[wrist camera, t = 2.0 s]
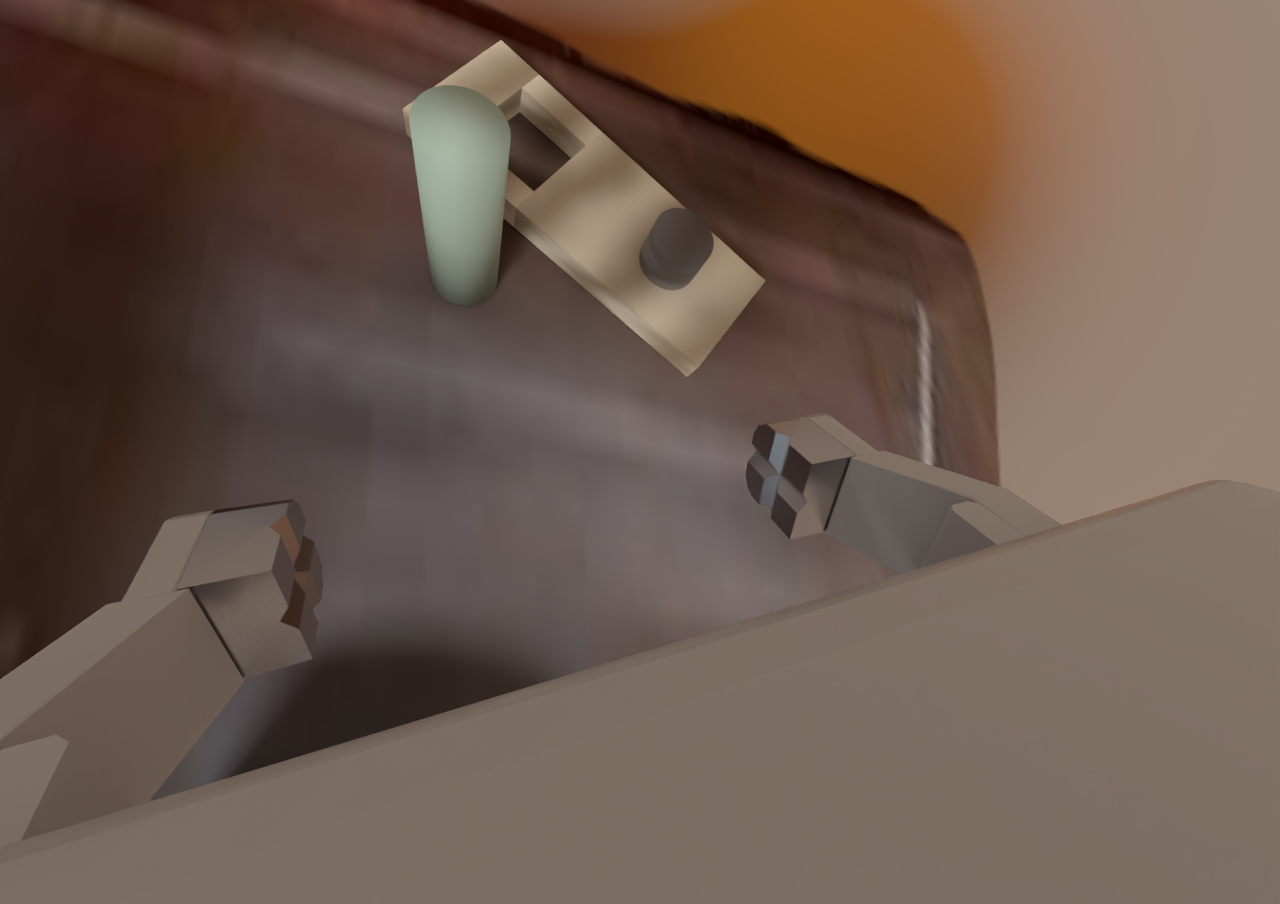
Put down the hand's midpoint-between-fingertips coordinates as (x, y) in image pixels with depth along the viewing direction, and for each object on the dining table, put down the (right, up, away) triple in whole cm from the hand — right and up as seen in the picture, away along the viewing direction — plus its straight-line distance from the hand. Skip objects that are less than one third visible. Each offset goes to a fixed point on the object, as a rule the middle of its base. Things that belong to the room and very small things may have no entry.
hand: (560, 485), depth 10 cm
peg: (-10, +12, +23) cm, 28 cm away
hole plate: (-2, +17, +27) cm, 32 cm away
